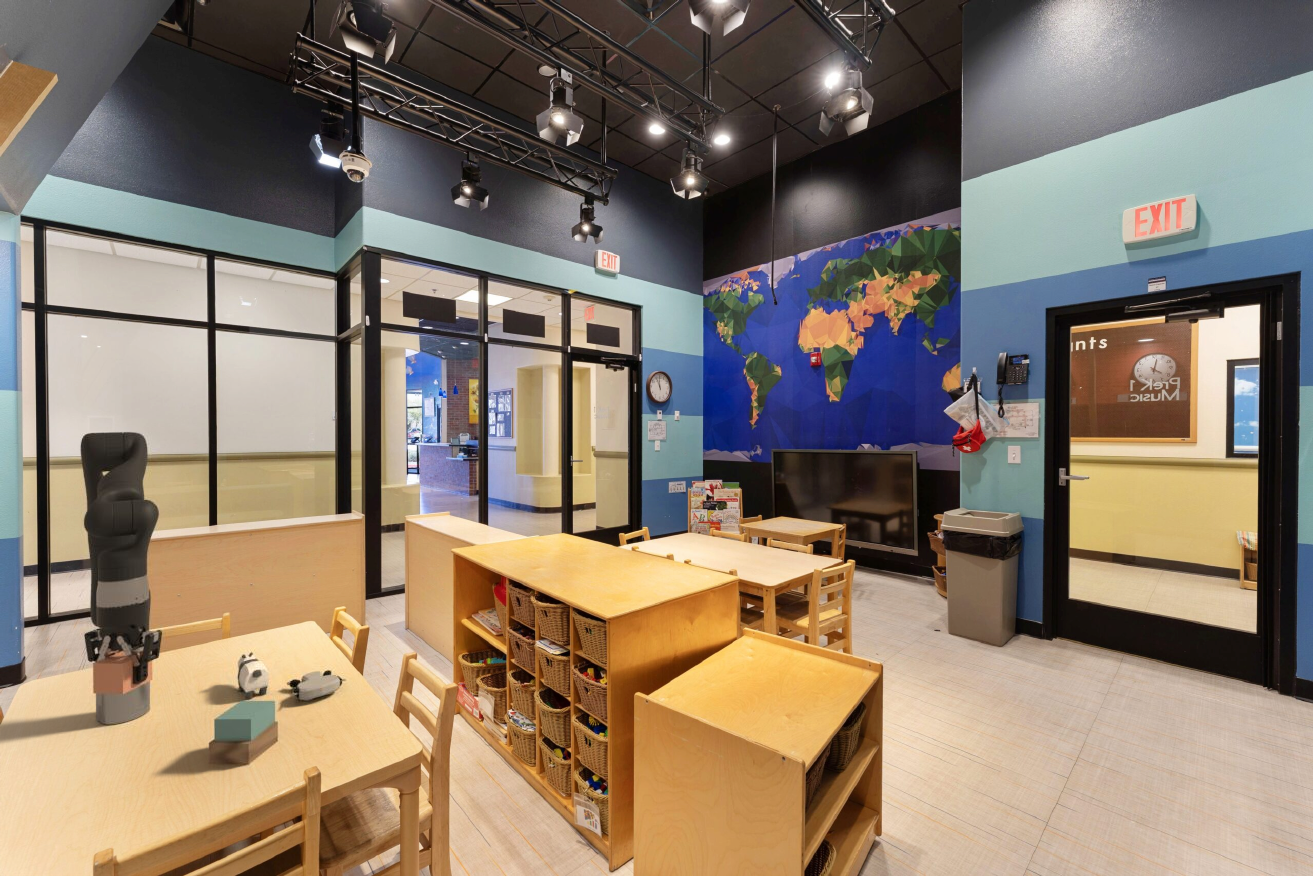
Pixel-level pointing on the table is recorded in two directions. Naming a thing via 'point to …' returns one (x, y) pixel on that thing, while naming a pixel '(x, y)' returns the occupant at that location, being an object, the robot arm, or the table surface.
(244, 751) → the tower base
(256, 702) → the tower top
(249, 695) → the giant panda
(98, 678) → the terracotta cube
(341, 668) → the table surface
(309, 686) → the robot toy
